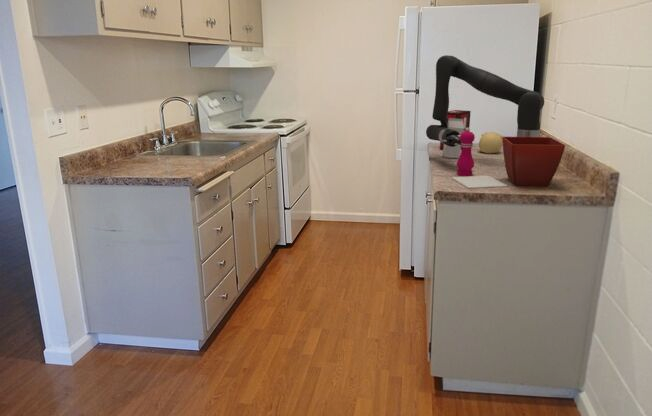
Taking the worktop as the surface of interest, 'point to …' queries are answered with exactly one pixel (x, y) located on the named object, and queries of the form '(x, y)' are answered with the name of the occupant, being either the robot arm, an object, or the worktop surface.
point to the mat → (478, 182)
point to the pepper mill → (466, 154)
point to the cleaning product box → (458, 115)
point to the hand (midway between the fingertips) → (464, 143)
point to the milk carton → (455, 151)
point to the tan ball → (490, 142)
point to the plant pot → (531, 159)
